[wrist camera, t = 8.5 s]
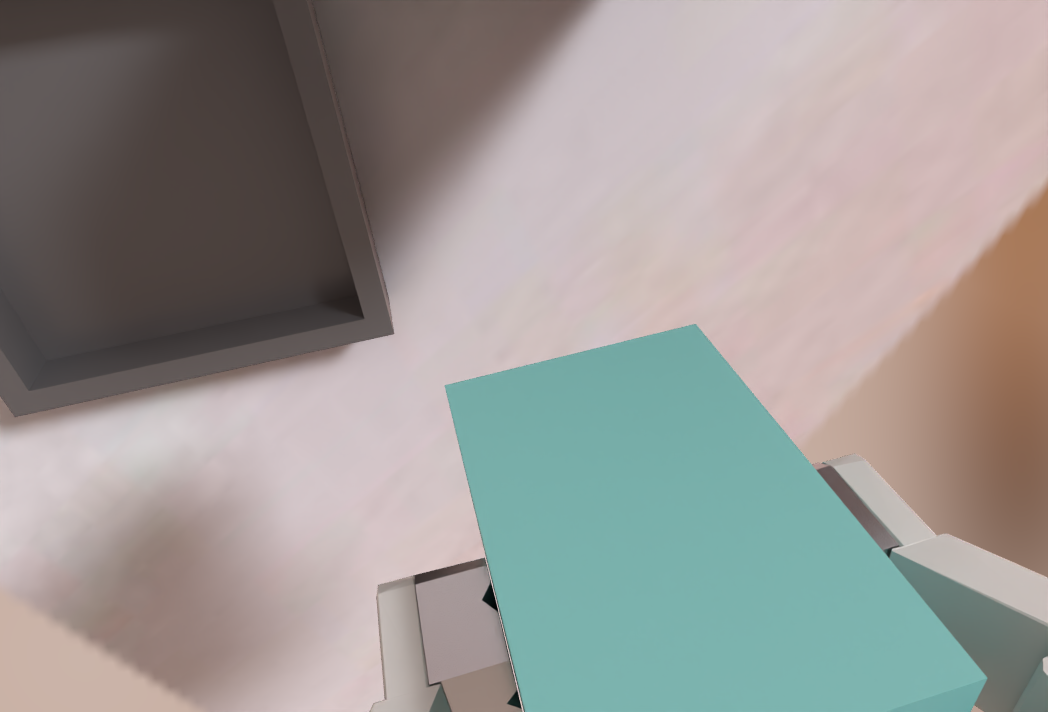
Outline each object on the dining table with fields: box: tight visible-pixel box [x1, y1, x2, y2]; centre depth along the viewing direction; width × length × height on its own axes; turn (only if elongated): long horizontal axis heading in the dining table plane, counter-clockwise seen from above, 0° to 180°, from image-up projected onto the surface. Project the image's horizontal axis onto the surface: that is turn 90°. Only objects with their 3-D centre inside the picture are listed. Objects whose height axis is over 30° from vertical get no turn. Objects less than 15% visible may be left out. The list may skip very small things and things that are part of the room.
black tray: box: [0, 0, 394, 417], centre depth 20 cm, size 12×12×2 cm
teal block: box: [445, 324, 988, 712], centre depth 10 cm, size 4×4×6 cm
